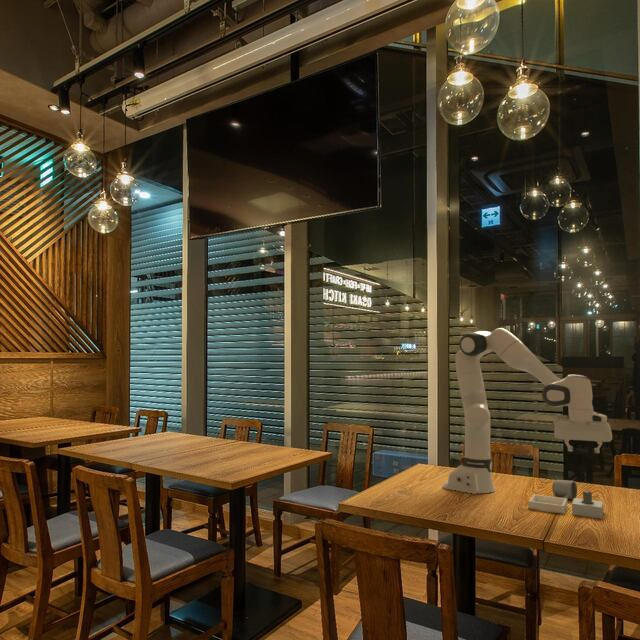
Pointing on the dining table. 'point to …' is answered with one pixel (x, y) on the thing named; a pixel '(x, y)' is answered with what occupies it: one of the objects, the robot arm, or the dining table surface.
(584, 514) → the grey square socket block
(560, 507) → the tray
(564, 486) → the ceramic mug
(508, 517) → the dining table surface
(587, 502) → the pin
